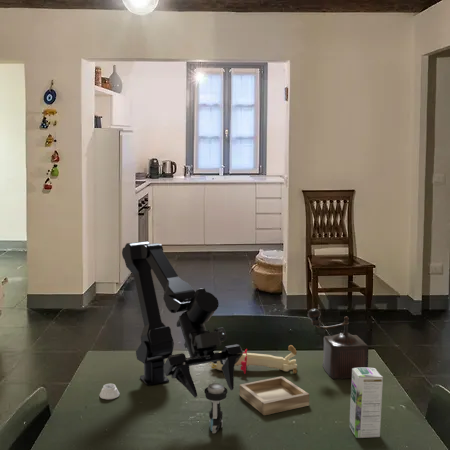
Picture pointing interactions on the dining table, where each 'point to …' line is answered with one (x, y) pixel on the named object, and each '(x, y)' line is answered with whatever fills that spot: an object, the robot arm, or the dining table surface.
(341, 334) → the manual coffee grinder
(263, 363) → the cat figure
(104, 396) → the small white bowl
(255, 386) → the oak tray
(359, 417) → the syrup box
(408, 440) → the dining table surface
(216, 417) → the push button
